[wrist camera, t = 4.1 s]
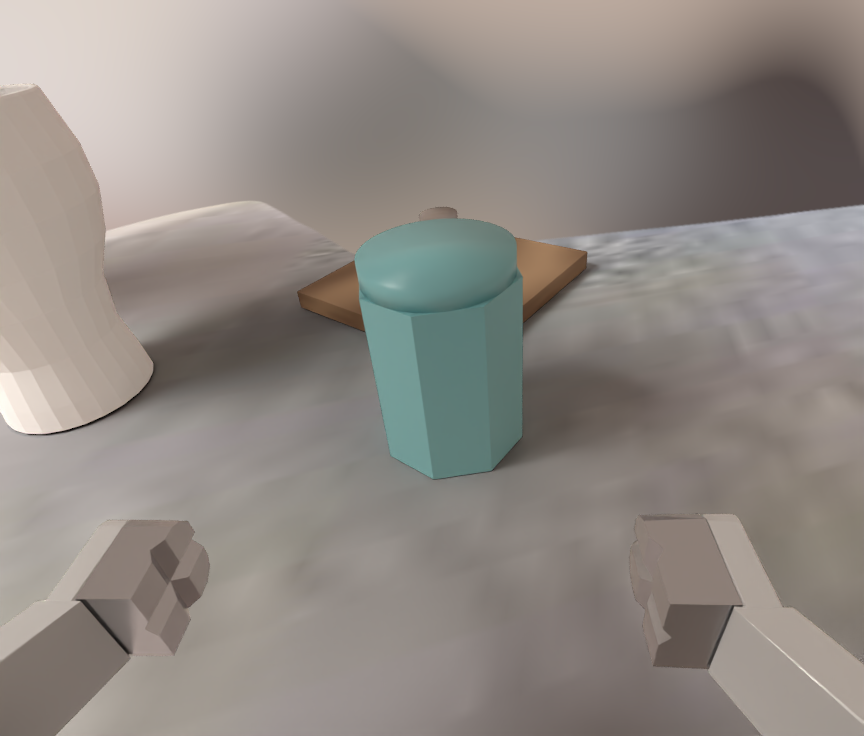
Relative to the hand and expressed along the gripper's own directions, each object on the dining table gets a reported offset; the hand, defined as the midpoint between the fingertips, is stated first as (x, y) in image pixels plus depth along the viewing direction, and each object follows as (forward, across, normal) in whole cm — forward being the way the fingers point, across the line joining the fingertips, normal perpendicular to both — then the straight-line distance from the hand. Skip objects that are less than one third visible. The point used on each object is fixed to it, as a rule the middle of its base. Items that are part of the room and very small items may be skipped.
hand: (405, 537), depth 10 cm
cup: (+17, +22, +9) cm, 29 cm away
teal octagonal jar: (+13, 0, +9) cm, 15 cm away
